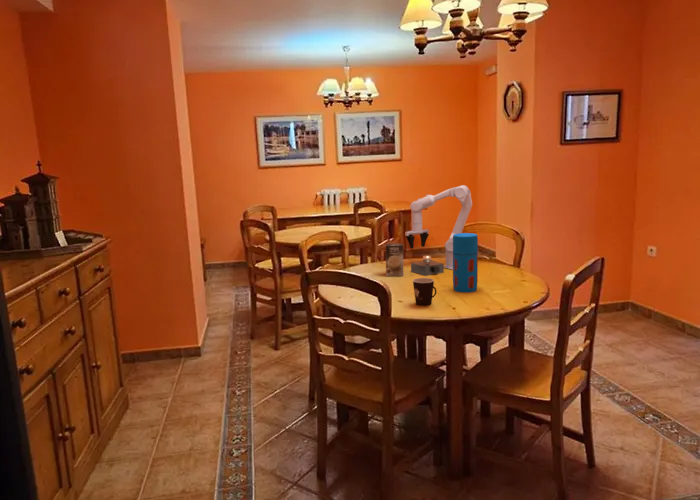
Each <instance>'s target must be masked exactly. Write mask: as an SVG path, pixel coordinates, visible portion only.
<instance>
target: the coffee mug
mask: <svg viewBox="0 0 700 500" xmlns="http://www.w3.org/2000/svg"><path fill="white" fill-rule="evenodd" d="M434 282H435V280H434V279H433V278H430V277H417V278H413V279H412V284H413V291H414V299H415V304H416V305H417V306H419V307H428V306H431V305H432V302H433V298H434V297H435V296H436V295H437V288H436V287H435V286H434ZM433 292H434V294H433Z"/></svg>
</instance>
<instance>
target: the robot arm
mask: <svg viewBox="0 0 700 500" xmlns="http://www.w3.org/2000/svg"><path fill="white" fill-rule="evenodd" d="M447 197H453V198H454V197H455V198H456V199H457V200H458V201H459V203H460V204H461V209H460V212H459V213H458V216H457V219H456V220H455V221H456V222H455V223H454V226H453V229H452V232H451V233H450V236H449V238H448V239H447V241H446V242H445V243H444V247H445V265H444V268H445V269H449V270H453V235H454V234H459V233H463V230H464V227H465V225H466V222H467V220H468V218H469V214H470V213H471V210H472V207H473V200H472V193H471V191H470V189H469V187H468V186H467V185H464V184H461V185H459V186H455V187H451V188H448V189H446V190H443V191H442V192H439V193H437V194H435V195H433V194H426V195H425V196H424V197H421V198H417V200H413V202H411V204H410V210H411V230H408V231H405V234H404V235H405V238H406V240H407V241H408V245H409V248H410V249H414V247H415V246H414V244H415V243H414V242H415V236H416V235H419V237H420V245H421V246H420V247H421V248H422V247H423V248H424V247H425V245H426V242H427V240H428V237H429V235H430V234H429V233H430V230H429V229H423V210H425V209H427V208H430V207H432V206H434V205H435V204H436V202H438V201H440V200H443V199H445V198H447ZM414 235H415V236H414Z"/></svg>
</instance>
